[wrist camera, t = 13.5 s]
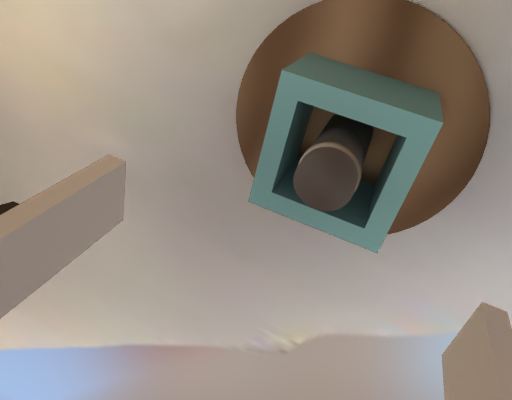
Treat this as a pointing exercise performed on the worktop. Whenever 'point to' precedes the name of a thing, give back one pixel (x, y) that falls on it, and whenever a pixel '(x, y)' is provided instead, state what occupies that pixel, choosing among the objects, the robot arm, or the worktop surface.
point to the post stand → (360, 134)
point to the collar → (357, 108)
